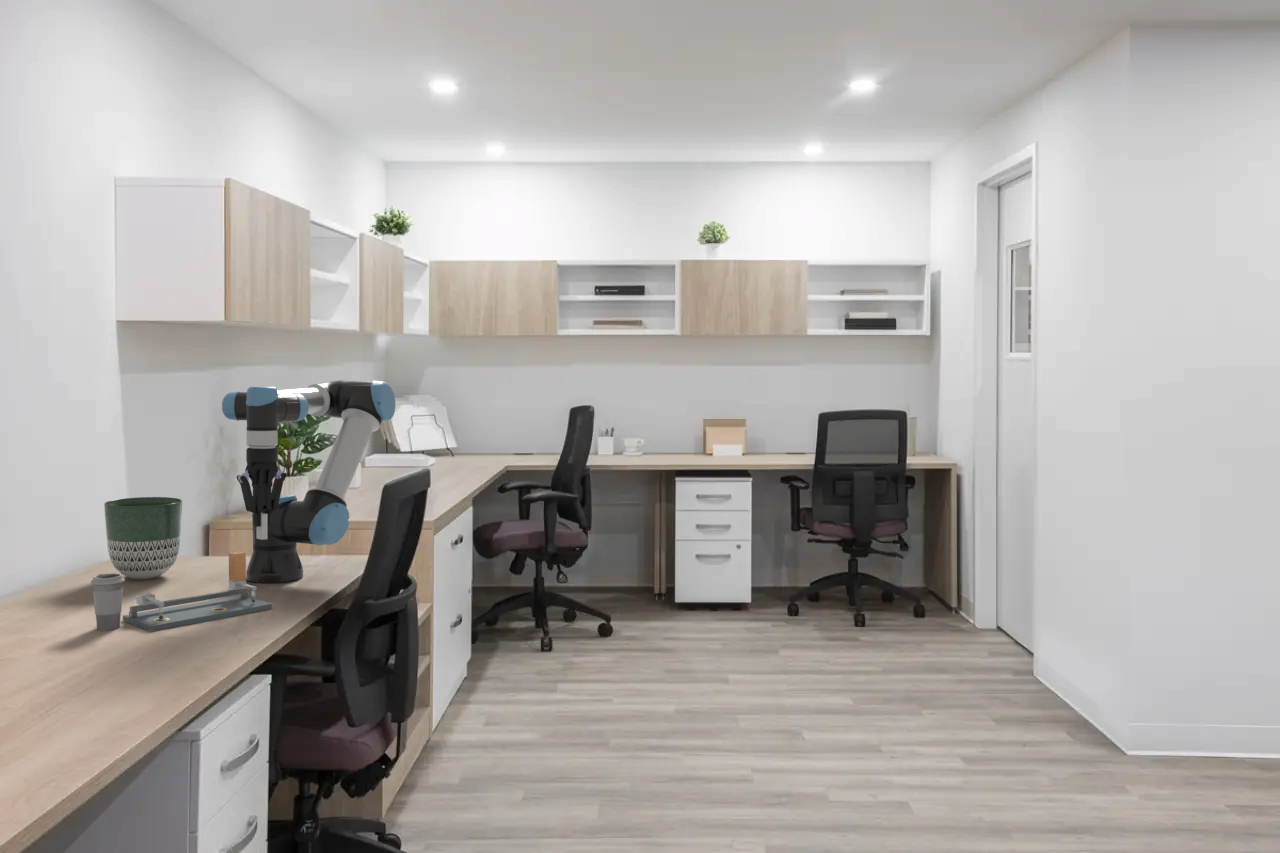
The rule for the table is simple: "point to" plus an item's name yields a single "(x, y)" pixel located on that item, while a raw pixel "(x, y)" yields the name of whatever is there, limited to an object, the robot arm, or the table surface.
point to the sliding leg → (239, 573)
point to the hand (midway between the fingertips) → (261, 538)
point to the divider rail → (177, 601)
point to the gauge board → (196, 612)
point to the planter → (143, 535)
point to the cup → (108, 600)
